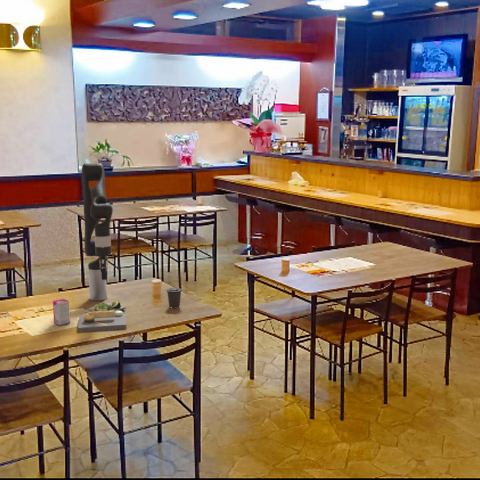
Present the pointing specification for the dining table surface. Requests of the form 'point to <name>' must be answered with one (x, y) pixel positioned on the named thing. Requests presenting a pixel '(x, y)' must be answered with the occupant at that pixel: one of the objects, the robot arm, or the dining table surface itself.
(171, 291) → the coffee cup
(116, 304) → the salad plate
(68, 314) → the supplement box
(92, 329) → the base
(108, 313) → the tan elongated block
